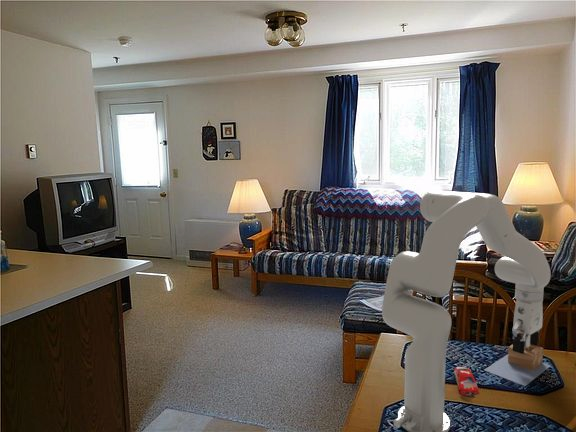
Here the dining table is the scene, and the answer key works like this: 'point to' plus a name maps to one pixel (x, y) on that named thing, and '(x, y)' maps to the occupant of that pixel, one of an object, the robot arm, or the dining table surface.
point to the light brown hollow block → (526, 357)
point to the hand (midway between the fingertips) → (525, 347)
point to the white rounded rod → (527, 342)
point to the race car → (465, 381)
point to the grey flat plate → (515, 371)
